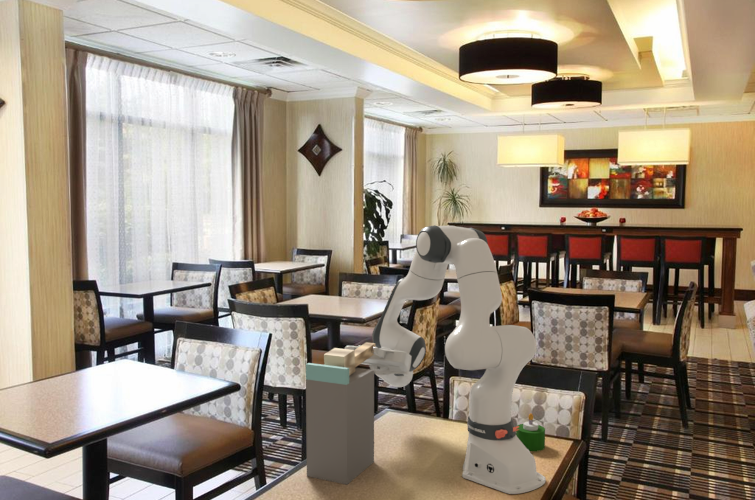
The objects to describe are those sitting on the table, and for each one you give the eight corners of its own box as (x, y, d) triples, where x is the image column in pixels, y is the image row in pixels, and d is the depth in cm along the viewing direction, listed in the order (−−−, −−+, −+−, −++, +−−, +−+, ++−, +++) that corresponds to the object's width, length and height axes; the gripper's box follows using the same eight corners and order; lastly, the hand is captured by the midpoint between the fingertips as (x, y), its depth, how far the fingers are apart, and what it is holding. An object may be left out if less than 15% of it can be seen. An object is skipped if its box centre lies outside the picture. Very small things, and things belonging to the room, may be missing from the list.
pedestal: (336, 454, 186) (335, 351, 184) (374, 461, 181) (373, 355, 178) (306, 476, 171) (305, 364, 169) (347, 484, 166) (346, 369, 164)
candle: (510, 443, 194) (510, 410, 194) (533, 439, 198) (533, 407, 197) (527, 453, 187) (527, 419, 186) (550, 449, 190) (551, 415, 189)
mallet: (362, 351, 192) (361, 332, 191) (380, 353, 189) (379, 333, 188) (324, 376, 172) (323, 354, 171) (344, 378, 170) (343, 356, 169)
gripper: (356, 349, 205) (337, 335, 194) (416, 356, 196) (400, 341, 185) (351, 369, 202) (332, 355, 191) (412, 376, 194) (396, 362, 182)
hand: (366, 348), depth 188 cm, fingers closed on mallet, 3 cm apart
